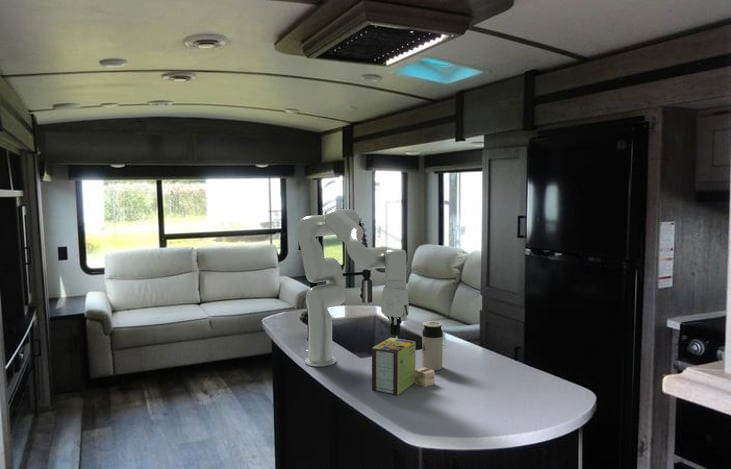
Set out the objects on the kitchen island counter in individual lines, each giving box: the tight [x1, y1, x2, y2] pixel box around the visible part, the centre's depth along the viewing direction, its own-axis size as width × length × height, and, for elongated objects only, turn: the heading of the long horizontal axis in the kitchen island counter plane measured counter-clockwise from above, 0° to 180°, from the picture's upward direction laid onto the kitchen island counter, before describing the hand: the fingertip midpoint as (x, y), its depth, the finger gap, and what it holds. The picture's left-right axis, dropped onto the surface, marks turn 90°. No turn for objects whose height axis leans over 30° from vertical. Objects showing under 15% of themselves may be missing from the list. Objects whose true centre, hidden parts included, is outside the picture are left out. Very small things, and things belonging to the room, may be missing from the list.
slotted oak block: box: [414, 367, 436, 388], centre depth 200 cm, size 5×5×5 cm
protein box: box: [371, 337, 417, 396], centre depth 197 cm, size 10×15×16 cm
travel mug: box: [421, 320, 444, 372], centre depth 217 cm, size 8×8×18 cm
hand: (395, 334), depth 196 cm, fingers closed
